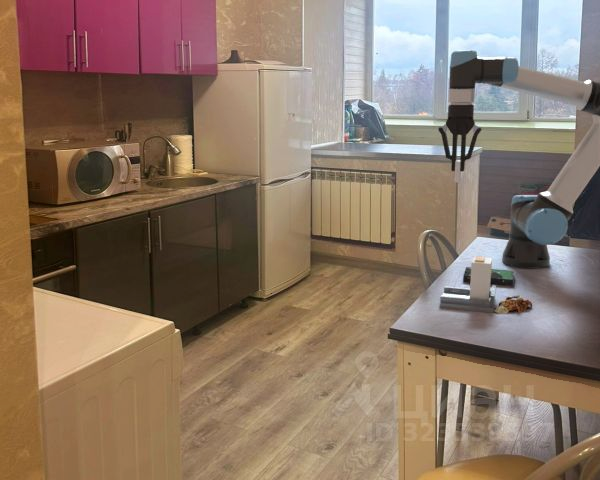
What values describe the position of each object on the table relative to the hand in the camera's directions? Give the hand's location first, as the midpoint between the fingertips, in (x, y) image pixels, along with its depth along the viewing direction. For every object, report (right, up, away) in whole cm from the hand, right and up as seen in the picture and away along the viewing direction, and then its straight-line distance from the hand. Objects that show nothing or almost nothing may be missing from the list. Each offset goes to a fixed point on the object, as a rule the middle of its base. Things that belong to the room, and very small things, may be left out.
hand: (457, 181), depth 201 cm
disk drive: (+10, -31, 0) cm, 32 cm away
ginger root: (+8, -37, -26) cm, 46 cm away
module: (+1, -34, -22) cm, 41 cm away
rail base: (-2, -35, -21) cm, 41 cm away
